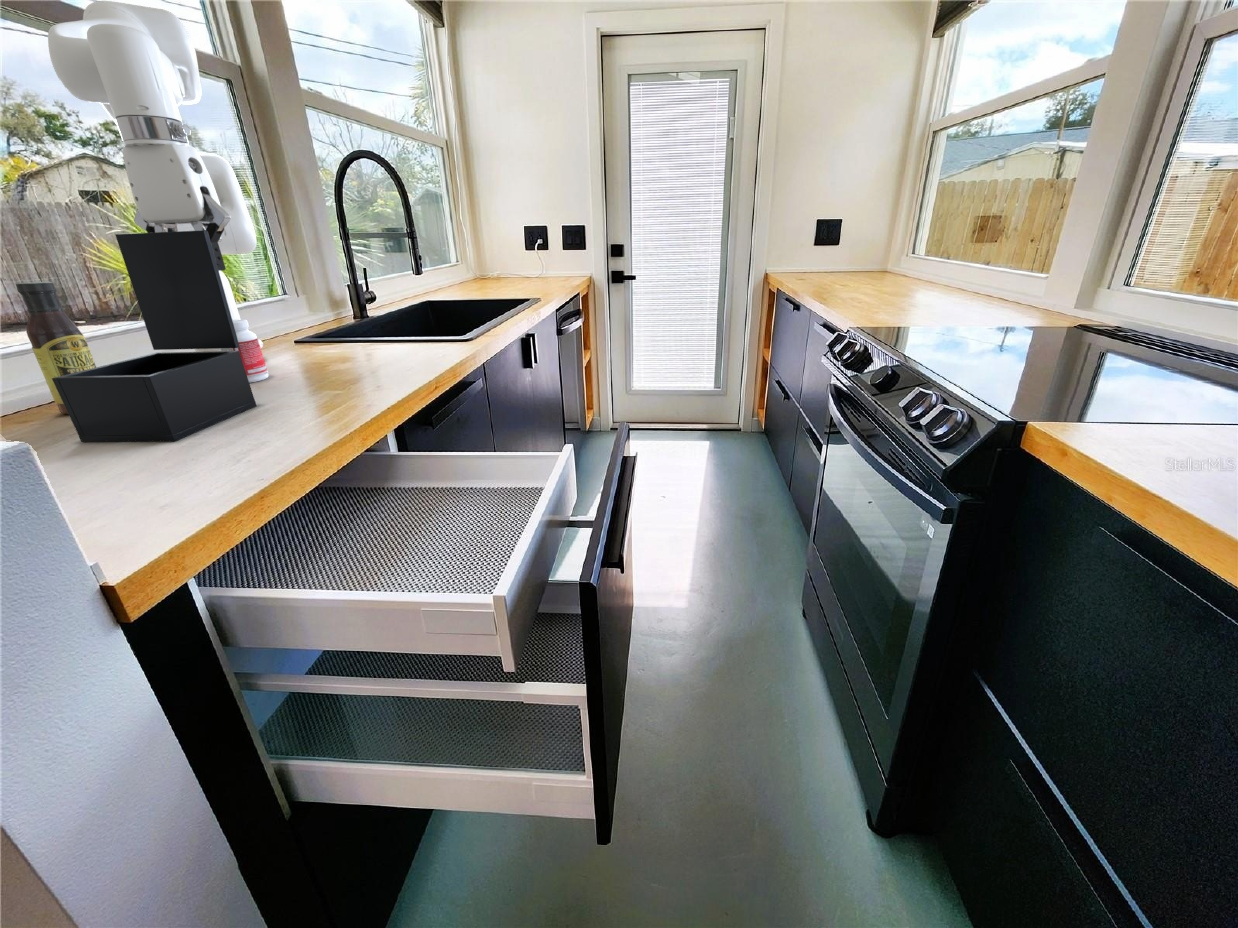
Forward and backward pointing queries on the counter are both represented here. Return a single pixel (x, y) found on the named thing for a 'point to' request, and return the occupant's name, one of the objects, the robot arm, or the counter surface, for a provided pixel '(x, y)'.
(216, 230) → the robot arm
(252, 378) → the pill bottle
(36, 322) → the sauce bottle
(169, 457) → the counter surface
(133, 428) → the black storage box
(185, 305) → the black box lid
